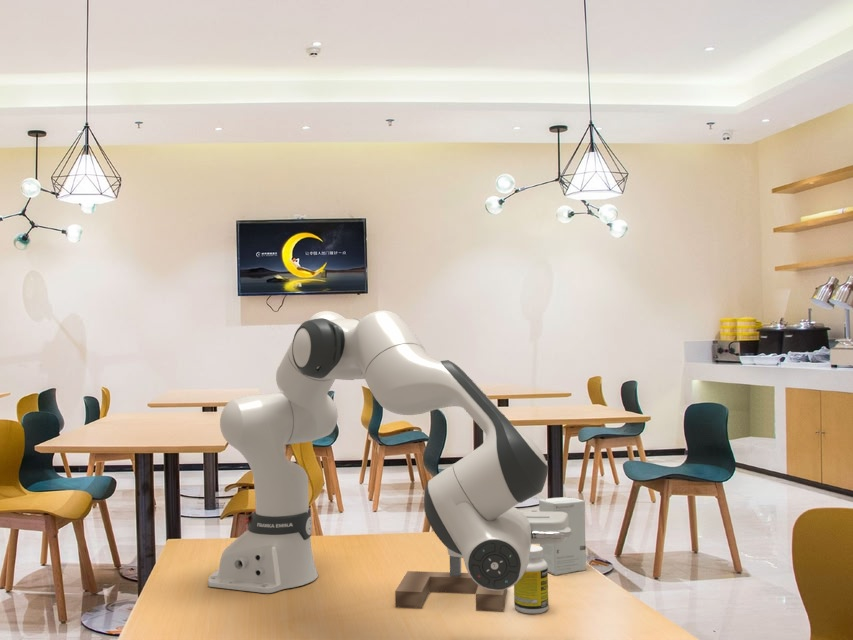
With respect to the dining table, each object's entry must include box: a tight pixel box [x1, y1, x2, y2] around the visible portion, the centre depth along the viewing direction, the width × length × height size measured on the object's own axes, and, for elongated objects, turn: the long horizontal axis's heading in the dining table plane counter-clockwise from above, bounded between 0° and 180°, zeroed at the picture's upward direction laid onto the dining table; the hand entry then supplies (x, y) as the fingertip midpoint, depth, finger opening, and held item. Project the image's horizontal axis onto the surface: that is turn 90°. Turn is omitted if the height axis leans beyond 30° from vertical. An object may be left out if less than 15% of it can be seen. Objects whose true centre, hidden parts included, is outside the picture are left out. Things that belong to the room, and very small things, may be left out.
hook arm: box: [449, 555, 462, 577], centre depth 144 cm, size 2×12×17 cm, turn 170°
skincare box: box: [538, 496, 587, 576], centre depth 160 cm, size 8×6×15 cm
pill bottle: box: [513, 544, 549, 615], centre depth 137 cm, size 6×6×11 cm
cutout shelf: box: [394, 570, 508, 612], centre depth 144 cm, size 20×12×3 cm, turn 80°
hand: (508, 515), depth 128 cm, fingers open, 8 cm apart
